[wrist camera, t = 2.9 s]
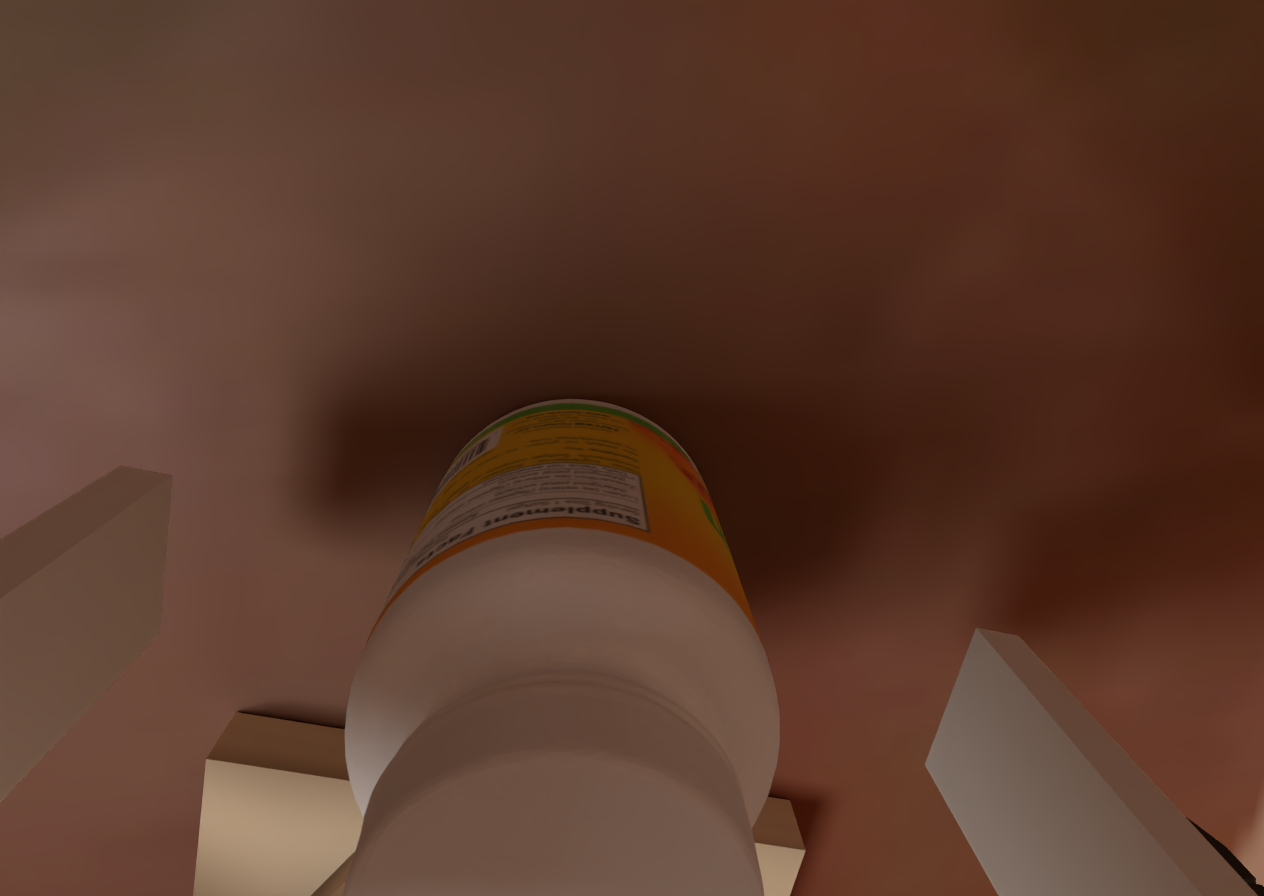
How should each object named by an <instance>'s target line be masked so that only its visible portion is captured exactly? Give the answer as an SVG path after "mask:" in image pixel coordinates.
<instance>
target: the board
mask: <svg viewBox="0 0 1264 896" xmlns="http://www.w3.org/2000/svg"><path fill="white" fill-rule="evenodd" d="M363 819H364V818H363V816H362V814H361V811H360V809H359V806H358V804H357V802H356V800H355V797H354V793H353V790H352V787H351V784H350V780H349V775H348V769H347V763H346V757H345V729H339V728H333V727H326V726H320V725H314V724H307V723H301V722H295V721H289V720H282V719H276V718H270V717H263V716H257V715H251V714H245V713H238V712H236V713H235V715H234V716H233V718H232V719H231V721H230V723H229V724H228V726H227V727H226V729H225V730H224V732H223V734H222V735H221V737H220V738H219V740H218V741H217V743H216V745H215V746H214V748H213V749H212V751H211V752H210V754H209V755H208V757H207V759H206V767H205V778H204V788H203V799H202V809H201V820H200V830H199V841H198V851H197V862H196V872H195V883H194V893H193V896H343V892H344V888H345V884H346V879H347V876H348V873H349V869H350V866H351V863H352V860H353V857H354V854H355V851H356V848H357V844H358V841H359V837H360V834H361V829H362V824H363ZM751 830H752V834H753V838H754V842H755V847H756V852H757V857H758V862H759V867H760V871H761V876H762V882H763V889H764V896H790V894H791V891H792V888H793V885H794V882H795V879H796V877H797V874H798V871H799V868H800V865H801V862H802V859H803V857H804V854H805V851H806V850H805V847H804V844H803V840H802V837H801V834H800V831H799V828H798V824H797V821H796V818H795V815H794V812H793V808H792V805H791V802H790V800H785V799H779V798H773V797H767V799H766V802H765V804H764V806H763V808H762V810H761V812H760V814H759V816H758V818H757V820H756V822H755V824H754V825H753V827H752V828H751Z"/></svg>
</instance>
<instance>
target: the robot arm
mask: <svg viewBox="0 0 1264 896" xmlns="http://www.w3.org/2000/svg"><path fill="white" fill-rule="evenodd" d="M171 488H172V475H168V474H163V473H157V472H152V471H147V470H141V469H136V468H131V467H126V466H119V467H117V468H116V469H114V470H113V471H111V472H109V473H108V474H106V475H104V476H103V477H101V478H100V479H98V480H96V481H95V482H93V483H91V484H90V485H88V486H87V487H85V488H83V489H82V490H80V491H78V492H77V493H75V494H74V495H72V496H70V497H69V498H67V499H66V500H64V501H62V502H61V503H59V504H57V505H56V506H54V507H53V508H51V509H49V510H48V511H46V512H44V513H43V514H41V515H40V516H38V517H36V518H35V519H33V520H31V521H30V522H28V523H27V524H25V525H23V526H22V527H20V528H18V529H17V530H15V531H14V532H12V533H10V534H9V535H7V536H6V537H4V538H2V539H1V540H0V802H1V801H2V800H3V799H4V798H5V797H6V796H7V795H8V794H9V793H10V792H11V791H12V790H13V789H14V788H15V787H16V786H17V784H18V783H19V782H20V781H21V780H22V779H23V778H24V777H25V776H26V775H27V774H28V773H29V772H30V771H31V770H32V769H33V767H34V766H35V765H36V764H37V763H38V762H39V761H40V760H41V759H42V758H43V757H44V756H45V755H46V754H47V753H48V752H49V751H50V749H51V748H52V747H53V746H54V745H55V744H56V743H57V742H58V741H59V740H60V739H61V738H62V737H63V736H64V735H65V734H66V733H67V731H68V730H69V729H70V728H71V727H72V726H73V725H74V724H75V723H76V722H77V721H78V720H79V719H80V718H81V717H82V716H83V714H84V713H85V712H86V711H87V710H88V709H89V708H90V707H91V706H92V705H93V704H94V703H95V702H96V701H97V700H98V699H99V698H100V696H101V695H102V694H103V693H104V692H105V691H106V690H107V689H108V688H109V687H110V686H111V685H112V684H113V683H114V682H115V681H116V680H117V678H118V677H119V676H120V675H121V674H122V673H123V672H124V671H125V670H126V669H127V668H128V667H129V666H130V665H131V664H132V663H133V661H134V660H135V659H136V658H137V657H138V656H139V655H140V654H141V653H142V652H143V651H144V650H145V649H146V648H147V647H148V646H149V645H150V643H151V642H152V641H153V640H154V639H155V638H156V637H157V636H158V635H159V634H160V624H161V612H162V599H163V587H164V574H165V562H166V550H167V537H168V525H169V512H170V500H171ZM925 766H926V768H927V769H928V771H929V773H930V775H931V776H932V778H933V780H934V782H935V784H936V785H937V787H938V789H939V791H940V792H941V794H942V796H943V798H944V800H945V801H946V803H947V805H948V807H949V809H950V810H951V812H952V814H953V816H954V817H955V819H956V821H957V823H958V825H959V826H960V828H961V830H962V832H963V833H964V835H965V837H966V839H967V841H968V842H969V844H970V846H971V848H972V849H973V851H974V853H975V855H976V857H977V858H978V860H979V862H980V864H981V865H982V867H983V869H984V871H985V873H986V874H987V876H988V878H989V880H990V882H991V883H992V885H993V887H994V889H995V890H996V892H997V894H998V896H1264V887H1263V886H1262V885H1258V884H1256V878H1255V877H1254V876H1253V875H1252V874H1251V873H1250V872H1249V871H1248V870H1247V869H1246V868H1245V867H1244V866H1243V864H1242V863H1241V862H1240V861H1239V860H1238V859H1237V858H1236V857H1235V856H1234V855H1233V854H1232V853H1231V852H1230V851H1229V850H1228V849H1227V847H1225V846H1224V845H1223V844H1221V843H1220V842H1219V841H1217V840H1216V839H1215V838H1213V837H1212V836H1211V835H1210V834H1208V833H1207V832H1206V831H1204V830H1203V829H1202V828H1200V827H1199V826H1198V825H1196V824H1195V823H1194V822H1192V821H1191V820H1190V819H1188V818H1187V817H1185V816H1184V815H1183V814H1182V813H1181V812H1180V810H1179V809H1178V808H1177V807H1176V806H1175V805H1174V804H1173V803H1172V802H1171V801H1170V800H1169V799H1168V797H1167V796H1166V795H1165V794H1164V793H1163V792H1162V791H1161V790H1160V789H1159V788H1158V787H1157V786H1156V784H1155V783H1154V782H1153V781H1152V780H1151V779H1150V778H1149V777H1148V776H1147V775H1146V774H1145V772H1144V771H1143V770H1142V769H1141V768H1140V767H1139V766H1138V765H1137V764H1136V763H1135V762H1134V761H1133V759H1132V758H1131V757H1130V756H1129V755H1128V754H1127V753H1126V752H1125V751H1124V750H1123V749H1122V748H1121V746H1120V745H1119V744H1118V743H1117V742H1116V741H1115V740H1114V739H1113V738H1112V737H1111V736H1110V734H1109V733H1108V732H1107V731H1106V730H1105V729H1104V728H1103V727H1102V726H1101V725H1100V724H1099V723H1098V721H1097V720H1096V719H1095V718H1094V717H1093V716H1092V715H1091V714H1090V713H1089V712H1088V711H1087V710H1086V708H1085V707H1084V706H1083V705H1082V704H1081V703H1080V702H1079V701H1078V700H1077V699H1076V698H1075V696H1074V695H1073V694H1072V693H1071V692H1070V691H1069V690H1068V689H1067V688H1066V687H1065V686H1064V685H1063V683H1062V682H1061V681H1060V680H1059V679H1058V678H1057V677H1056V676H1055V675H1054V674H1053V673H1052V672H1051V670H1050V669H1049V668H1048V667H1047V666H1046V665H1045V664H1044V663H1043V662H1042V661H1041V660H1040V658H1039V657H1038V656H1037V655H1036V654H1035V653H1034V652H1033V651H1032V650H1031V649H1030V648H1029V647H1028V645H1027V644H1026V643H1025V642H1024V641H1023V640H1022V639H1021V638H1020V637H1019V636H1018V635H1012V634H1007V633H1002V632H997V631H991V630H986V629H981V628H976V629H975V632H974V635H973V637H972V640H971V643H970V645H969V648H968V651H967V653H966V656H965V659H964V661H963V664H962V667H961V669H960V672H959V675H958V677H957V680H956V683H955V685H954V688H953V691H952V693H951V696H950V699H949V701H948V704H947V707H946V709H945V712H944V715H943V717H942V720H941V723H940V725H939V728H938V731H937V733H936V736H935V739H934V742H933V744H932V747H931V750H930V752H929V755H928V758H927V760H926V763H925Z"/></svg>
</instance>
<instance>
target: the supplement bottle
mask: <svg viewBox="0 0 1264 896" xmlns="http://www.w3.org/2000/svg"><path fill="white" fill-rule="evenodd" d="M779 745H780V714H779V707H778V700H777V695H776V690H775V685H774V681H773V677H772V674H771V670H770V666H769V663H768V659H767V656H766V653H765V650H764V647H763V645H762V642H761V639H760V636H759V633H758V630H757V627H756V624H755V622H754V619H753V616H752V613H751V610H750V608H749V605H748V602H747V599H746V596H745V594H744V591H743V588H742V585H741V582H740V579H739V576H738V573H737V570H736V567H735V564H734V561H733V558H732V556H731V553H730V550H729V547H728V544H727V542H726V539H725V536H724V534H723V531H722V528H721V526H720V523H719V520H718V517H717V514H716V511H715V509H714V506H713V503H712V501H711V498H710V495H709V492H708V490H707V487H706V485H705V484H704V482H703V479H702V477H701V475H700V473H699V472H698V470H697V468H696V466H695V464H694V463H693V461H692V460H691V458H690V457H689V456H688V454H687V453H686V452H685V450H684V449H683V448H682V447H681V446H680V445H679V443H678V442H677V441H676V440H675V439H674V438H673V437H672V436H670V435H669V434H668V433H667V432H666V431H665V430H663V429H662V428H661V427H659V426H658V425H657V424H655V423H654V422H652V421H650V420H648V419H647V418H645V417H643V416H641V415H639V414H637V413H635V412H633V411H631V410H628V409H626V408H623V407H619V406H616V405H613V404H609V403H604V402H599V401H593V400H583V399H561V400H550V401H544V402H540V403H536V404H532V405H529V406H526V407H523V408H520V409H518V410H515V411H513V412H511V413H509V414H507V415H505V416H503V417H501V418H500V419H498V420H496V421H495V422H493V423H491V424H490V425H488V426H487V427H486V428H484V429H483V430H482V431H481V432H479V433H478V434H477V435H476V436H475V437H473V438H472V439H471V440H470V441H469V442H468V443H467V444H466V445H465V447H464V448H463V449H462V450H461V451H460V453H459V454H458V455H457V457H456V458H455V459H454V461H453V463H452V464H451V466H450V467H449V469H448V470H447V472H446V473H445V475H444V477H443V479H442V481H441V482H440V484H439V487H438V489H437V491H436V493H435V495H434V497H433V499H432V501H431V504H430V506H429V508H428V510H427V512H426V514H425V517H424V519H423V521H422V523H421V525H420V528H419V530H418V532H417V535H416V537H415V539H414V541H413V543H412V546H411V548H410V550H409V552H408V554H407V557H406V559H405V561H404V563H403V566H402V568H401V570H400V572H399V574H398V577H397V579H396V581H395V583H394V585H393V587H392V590H391V592H390V594H389V596H388V598H387V601H386V603H385V605H384V607H383V609H382V611H381V613H380V615H379V618H378V620H377V622H376V624H375V626H374V628H373V630H372V632H371V634H370V636H369V638H368V641H367V643H366V646H365V648H364V651H363V653H362V655H361V658H360V662H359V665H358V667H357V670H356V673H355V676H354V679H353V683H352V687H351V691H350V694H349V700H348V706H347V712H346V722H345V757H346V763H347V769H348V775H349V780H350V784H351V787H352V790H353V793H354V797H355V800H356V802H357V804H358V806H359V809H360V811H361V814H362V816H363V818H364V819H363V824H362V829H361V834H360V837H359V841H358V844H357V848H356V851H355V854H354V857H353V860H352V863H351V866H350V869H349V873H348V876H347V879H346V884H345V888H344V892H343V896H764V889H763V882H762V876H761V871H760V867H759V862H758V857H757V852H756V847H755V842H754V838H753V834H752V830H751V828H752V827H753V825H754V824H755V822H756V820H757V818H758V816H759V814H760V812H761V810H762V808H763V806H764V804H765V802H766V799H767V797H768V794H769V791H770V788H771V784H772V780H773V777H774V773H775V770H776V766H777V760H778V752H779Z"/></svg>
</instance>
